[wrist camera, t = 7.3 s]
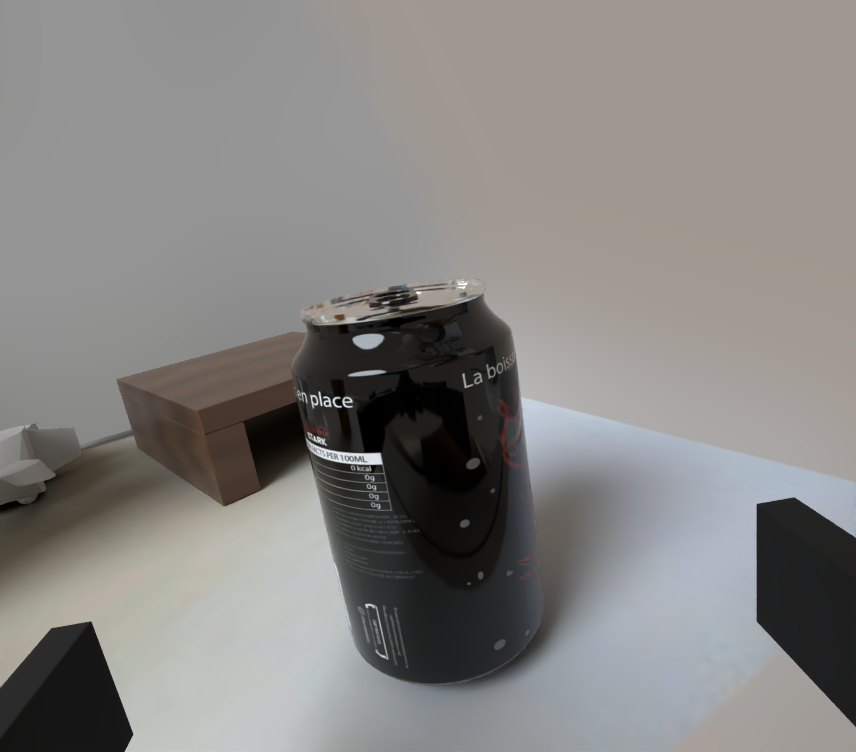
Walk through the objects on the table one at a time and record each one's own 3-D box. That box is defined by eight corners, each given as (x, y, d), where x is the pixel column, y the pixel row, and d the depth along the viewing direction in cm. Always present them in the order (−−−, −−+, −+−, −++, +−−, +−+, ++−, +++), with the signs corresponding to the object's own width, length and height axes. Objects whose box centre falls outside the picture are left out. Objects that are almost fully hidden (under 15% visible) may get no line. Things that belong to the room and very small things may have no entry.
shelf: (423, 415, 42) (411, 339, 41) (223, 506, 32) (197, 410, 31) (305, 389, 56) (292, 331, 54) (137, 448, 46) (115, 379, 44)
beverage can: (518, 556, 23) (481, 269, 20) (577, 684, 17) (535, 287, 13) (357, 588, 23) (294, 301, 20) (352, 732, 16) (255, 335, 13)
